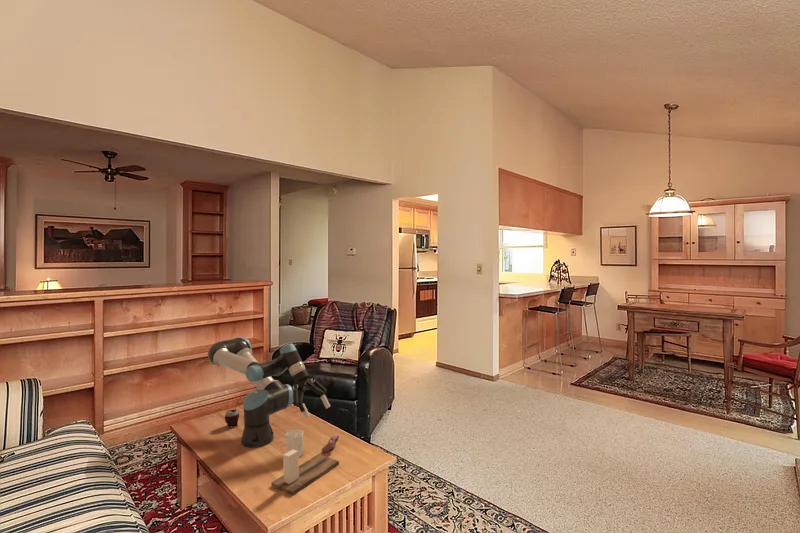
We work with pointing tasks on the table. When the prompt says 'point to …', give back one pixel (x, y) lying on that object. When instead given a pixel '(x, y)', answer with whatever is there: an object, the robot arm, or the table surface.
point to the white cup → (295, 441)
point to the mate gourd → (232, 416)
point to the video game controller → (330, 443)
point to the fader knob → (291, 466)
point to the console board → (307, 474)
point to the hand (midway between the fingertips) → (318, 412)
